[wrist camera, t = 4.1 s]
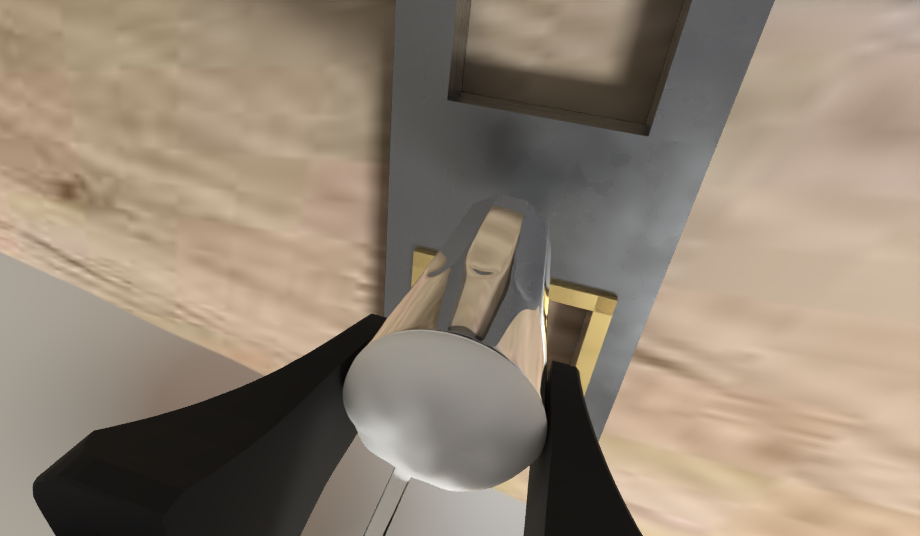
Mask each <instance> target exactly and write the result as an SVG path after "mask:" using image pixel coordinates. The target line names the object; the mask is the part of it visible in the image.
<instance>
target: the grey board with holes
mask: <svg viewBox="0 0 920 536" xmlns="http://www.w3.org/2000/svg"><path fill="white" fill-rule="evenodd" d="M774 1H775V0H684V2H683V6H682V9H681V12H680V15H679V18H678V22H677V25H676V28H675V31H674V34H673V38H672V41H671V44H670V47H669V50H668V54H667V57H666V60H665V63H664V66H663V70H662V73H661V76H660V79H659V82H658V85H657V89H656V92H655V95H654V98H653V101H652V105H651V108H650V111H649V114H648V117H647V121H646V124H641V123H635V122H629V121H624V120H618V119H612V118H607V117H601V116H595V115H590V114H584V113H578V112H573V111H567V110H561V109H556V108H550V107H544V106H539V105H533V104H527V103H522V102H516V101H510V100H505V99H499V98H493V97H488V96H482V95H476V94H471V93H465V92H461V89H462V80H463V71H464V62H465V53H466V43H467V34H468V25H469V16H470V7H471V0H396V5H395V32H394V59H393V85H392V112H391V138H390V165H389V191H388V218H387V245H386V271H385V298H384V317H386V318H388V317H389V315H390V314H391V313H392V311H393V310H394V309H395V308H396V306H397V305H398V304H399V303H400V301H401V300H402V299H403V298H404V296H405V295H406V294H407V293H408V291H409V290H410V289H411V288H412V286H413V285H414V284H415V283H416V281H417V280H418V279H419V277H420V276H421V275H422V273H423V272H424V271H425V269H426V268H427V267H428V265H429V264H430V262H431V261H432V260H433V258H434V257H435V256H436V254H437V253H438V251H439V250H440V249H441V247H442V246H443V244H444V243H445V242H446V240H447V239H448V237H449V236H450V235H451V233H452V232H453V230H454V229H455V228H456V226H457V225H458V223H459V222H460V221H461V219H462V218H463V217H464V215H465V214H466V212H467V211H468V210H469V208H470V207H471V206H472V205H473V204H475V203H477V202H480V201H482V200H485V199H487V198H490V197H492V196H495V195H497V194H501V195H506V196H510V197H515V198H519V199H524V200H528V201H529V202H530V203H531V204H532V205H533V206H534V207H535V208H536V209H537V210H538V211H539V212H540V213H541V214H542V215H543V216H544V217H545V218H546V219H547V220H548V223H549V233H550V242H551V264H550V283H549V300H550V301H554V302H558V303H562V304H566V305H570V306H574V307H578V308H583V309H587V312H586V315H585V319H584V322H583V325H582V328H581V331H580V335H579V338H578V341H577V344H576V347H575V350H574V354H573V357H572V360H571V363H570V365H571V366H575V367H577V369H578V370H579V372H580V379H581V385H582V390H583V394H584V398H585V402H586V406H587V409H588V413H589V416H590V419H591V422H592V425H593V428H594V431H595V434H596V437H597V440H598V441H599V439H600V436H601V434H602V431H603V429H604V426H605V424H606V421H607V419H608V416H609V414H610V411H611V409H612V406H613V404H614V401H615V399H616V396H617V394H618V391H619V389H620V386H621V384H622V381H623V379H624V376H625V374H626V371H627V369H628V366H629V364H630V361H631V359H632V356H633V354H634V351H635V349H636V346H637V344H638V341H639V339H640V336H641V334H642V331H643V329H644V326H645V324H646V321H647V319H648V316H649V314H650V311H651V309H652V306H653V304H654V301H655V299H656V296H657V294H658V291H659V289H660V286H661V284H662V281H663V279H664V276H665V274H666V271H667V269H668V266H669V264H670V261H671V259H672V256H673V254H674V251H675V249H676V246H677V243H678V241H679V238H680V236H681V233H682V231H683V228H684V226H685V223H686V221H687V218H688V216H689V213H690V211H691V208H692V206H693V203H694V201H695V198H696V196H697V193H698V191H699V188H700V186H701V183H702V181H703V178H704V176H705V173H706V171H707V168H708V166H709V163H710V161H711V158H712V156H713V153H714V151H715V148H716V146H717V143H718V141H719V138H720V136H721V133H722V131H723V128H724V126H725V123H726V121H727V118H728V116H729V113H730V111H731V108H732V106H733V103H734V101H735V98H736V96H737V93H738V91H739V88H740V86H741V83H742V81H743V78H744V76H745V73H746V71H747V68H748V66H749V63H750V61H751V58H752V56H753V53H754V51H755V48H756V46H757V43H758V41H759V38H760V36H761V33H762V31H763V28H764V26H765V23H766V21H767V18H768V16H769V13H770V11H771V8H772V6H773V3H774Z"/></svg>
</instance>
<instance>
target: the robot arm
mask: <svg viewBox="0 0 920 536" xmlns="http://www.w3.org/2000/svg"><path fill="white" fill-rule="evenodd" d="M386 319H387V318H386V317H382V316H378V315H375V314H370V315H369V316H367V317H365V318H364V319H362V320H361V321H359V322H357V323H356V324H354V325H353V326H351V327H350V328H348V329H347V330H345V331H343V332H342V333H340V334H339V335H337V336H336V337H334V338H332V339H331V340H329V341H328V342H326V343H324V344H323V345H321V346H319V347H318V348H316V349H315V350H313V351H311V352H310V353H308V354H306V355H304V356H303V357H301V358H299V359H297V360H295V361H293V362H292V363H290V364H288V365H286V366H284V367H283V368H281V369H279V370H277V371H275V372H273V373H271V374H269V375H266V376H264V377H262V378H260V379H258V380H256V381H253V382H252V383H249V384H247V385H244V386H242V387H240V388H237V389H235V390H232V391H229V392H227V393H224V394H221V395H219V396H216V397H213V398H211V399H208V400H206V401H203V402H200V403H197V404H194V405H191V406H188V407H185V408H181V409H178V410H175V411H171V412H168V413H164V414H161V415H158V416H154V417H150V418H147V419H143V420H138V421H135V422H130V423H126V424H121V425H118V426H113V427H109V428H105V429H100V430H95V431H93V432H92V433H90V434H89V435H88V436H87V437H85V438H84V439H83V440H82V441H81V442H79V443H78V444H77V445H76V446H74V447H73V448H72V449H71V450H70V451H68V452H67V453H66V454H65V455H64V456H62V457H61V458H60V459H59V460H58V461H56V462H55V463H54V464H53V465H52V466H50V467H49V468H48V469H47V470H46V471H44V472H43V473H42V474H41V475H39V476H38V477H37V478H36V480H35V481H34V483H33V497H34V499H35V501H36V503H37V505H38V507H39V509H40V510H41V512H42V514H43V515H44V517H45V519H46V520H47V522H48V523H49V525H50V527H51V529H52V530H53V532H54V534H55V535H56V536H300V535H301V533H302V531H303V529H304V527H305V525H306V523H307V521H308V519H309V517H310V514H311V513H312V510H313V509H314V507H315V504H316V503H317V501H318V499H319V497H320V495H321V492H322V491H323V489H324V487H325V485H326V483H327V481H328V480H329V478H330V476H331V475H332V473H333V471H334V469H335V468H336V466H337V464H338V463H339V462H340V460H341V458H342V457H343V455H344V454H345V452H346V451H347V449H348V447H349V446H350V444H351V443H352V441H353V440H354V438H355V436H356V435H357V433H358V432H357V430H356V427H355V425H354V424H353V422H352V421H351V420H350V418H349V417H348V414H347V412H346V409H345V406H344V402H343V387H344V382H345V379H346V376H347V373H348V371H349V369H350V367H351V365H352V363H353V361H354V360H355V358H356V357H357V355H358V354H359V353H360V352H361V351H362V349H363V348H364V347H365V346H366V344H367V343H368V342H369V341H370V339H371V338H372V337H373V335H374V334H375V333H376V332H377V330H378V329H379V328H380V327H381V325H382V324H383V323H384V322H385V320H386ZM524 536H643V535H642V534H641V532H640V530H639V529H638V527H637V525H636V523H635V521H634V519H633V518H632V516H631V514H630V512H629V510H628V508H627V506H626V504H625V502H624V500H623V498H622V496H621V494H620V492H619V490H618V488H617V486H616V484H615V482H614V479H613V477H612V475H611V473H610V470H609V468H608V466H607V463H606V461H605V458H604V456H603V453H602V451H601V448H600V445H599V443H598V440H597V437H596V434H595V431H594V428H593V425H592V422H591V419H590V416H589V413H588V409H587V406H586V402H585V398H584V394H583V390H582V385H581V379H580V372H579V370H578V369H577V367H575V366H571V365H567V364H564V363H560V362H556V361H553V362H552V366H551V369H550V373H549V377H548V381H547V438H546V442H545V446H544V448H543V451H542V452H541V454H540V456H539V457H538V458H537V459H536V460H535V461H534V462H533V463H532V464H531V465H530V471H529V482H528V493H527V505H526V516H525V527H524Z"/></svg>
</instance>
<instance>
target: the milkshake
mask: <svg viewBox="0 0 920 536" xmlns="http://www.w3.org/2000/svg"><path fill="white" fill-rule="evenodd" d="M550 264H551V242H550V233H549V223H548V220H547V219H546V218H545V217H544V216H543V215H542V214H541V213H540V212H539V211H538V210H537V209H536V208H535V207H534V206H533V205H532V204H531V203H530V202H529V201H528V200H524V199H519V198H515V197H510V196H506V195H501V194H497V195H495V196H492V197H490V198H487V199H485V200H482V201H480V202H477V203H475V204H473V205H472V206H471V207H470V208H469V210H468V211H467V212H466V214H465V215H464V217H463V218H462V219H461V221H460V222H459V223H458V225H457V226H456V228H455V229H454V230H453V232H452V233H451V235H450V236H449V237H448V239H447V240H446V242H445V243H444V244H443V246H442V247H441V249H440V250H439V251H438V253H437V254H436V256H435V257H434V258H433V260H432V261H431V262H430V264H429V265H428V267H427V268H426V269H425V271H424V272H423V273H422V275H421V276H420V277H419V279H418V280H417V281H416V283H415V284H414V285H413V286H412V288H411V289H410V290H409V291H408V293H407V294H406V295H405V296H404V298H403V299H402V300H401V301H400V303H399V304H398V305H397V306H396V308H395V309H394V310H393V311H392V313H391V314H390V315H389V317H388V318H387V319H386V320H385V322H384V323H383V324H382V325H381V327H380V328H379V329H378V330H377V332H376V333H375V334H374V335H373V337H372V338H371V339H370V341H369V342H368V343H367V344H366V346H365V347H364V348H363V349H362V351H361V352H360V353H359V354H358V355H357V357H356V358H355V360H354V361H353V363H352V365H351V367H350V369H349V371H348V373H347V376H346V379H345V382H344V387H343V402H344V406H345V409H346V412H347V414H348V417H349V418H350V420H351V421H352V422H353V424H354V425H355V427H356V430H357V432H358V434H359V436H360V438H361V440H362V441H363V443H364V445H365V446H366V448H368V449H369V450H370V451H371V452H372V453H374V454H375V455H376V456H378V457H380V458H382V459H384V460H386V461H387V462H389V463H390V464H391V465H393V466H394V467H395V468H394V471H393V473H392V475H391V477H390V479H389V481H388V484H387V486H386V488H385V490H384V492H383V495H382V496H381V498H380V501H379V503H378V505H377V507H376V509H375V512H374V514H373V516H372V518H371V520H370V522H369V525H368V527H367V529H366V531H365V533H364V535H363V536H386V534H387V531H388V529H389V527H390V525H391V522H392V520H393V518H394V516H395V513H396V511H397V509H398V506H399V504H400V502H401V500H402V497H403V495H404V493H405V490H406V488H407V486H408V484H409V481H410V479H411V477H413V478H416V479H418V480H421V481H425V482H427V483H430V484H432V485H434V486H437V487H439V488H442V489H445V490H450V491H475V490H482V489H487V488H490V487H494V486H496V485H499V484H501V483H503V482H506V481H507V480H509V479H511V478H513V477H514V476H516V475H517V474H519V473H520V472H521V471H523V470H524V469H526V468H527V467H528V466H529V465H531V464H532V463H533V462H534V461H535V460H536V459H537V458H538V457H539V456H540V454H541V452H542V451H543V448H544V446H545V442H546V438H547V322H548V302H549V283H550Z"/></svg>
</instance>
